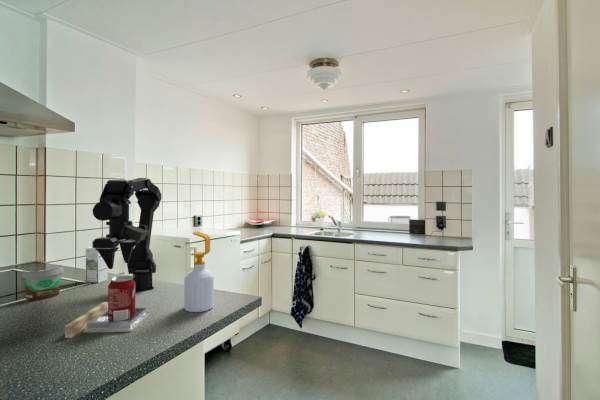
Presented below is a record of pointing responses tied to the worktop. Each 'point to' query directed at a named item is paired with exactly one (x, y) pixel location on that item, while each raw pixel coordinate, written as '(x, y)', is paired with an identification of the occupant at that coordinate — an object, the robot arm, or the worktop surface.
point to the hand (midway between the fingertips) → (119, 265)
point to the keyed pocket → (115, 322)
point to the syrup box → (95, 266)
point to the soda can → (121, 298)
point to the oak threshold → (84, 320)
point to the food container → (42, 283)
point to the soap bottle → (199, 283)
